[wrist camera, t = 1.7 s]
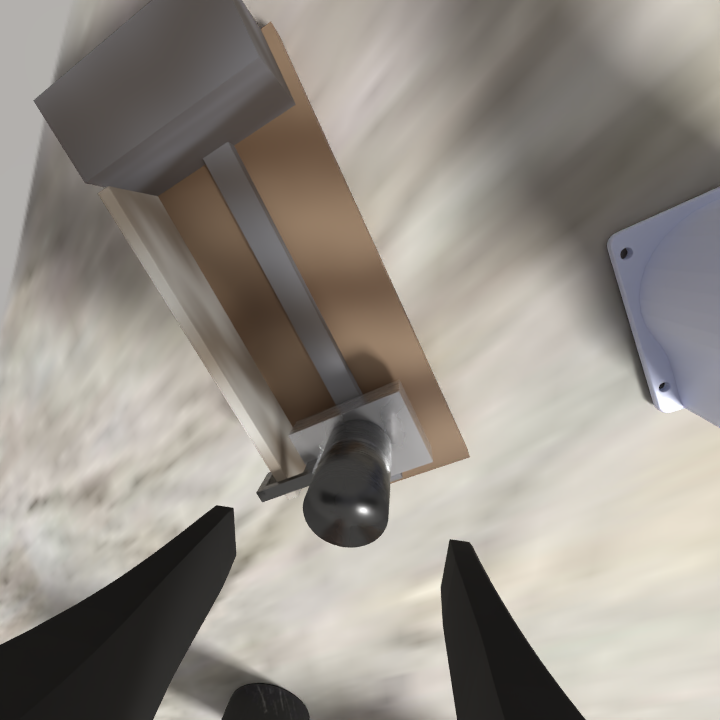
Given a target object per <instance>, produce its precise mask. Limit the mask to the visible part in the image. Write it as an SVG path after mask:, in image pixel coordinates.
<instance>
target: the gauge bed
mask: <svg viewBox="0 0 720 720" xmlns="http://www.w3.org/2000/svg"><path fill="white" fill-rule="evenodd" d="M34 102H35V104H36V105H37V107H38V109H39V110H40V112H41V113H42V115H43V117H44V118H45V120H46V121H47V123H48V125H49V126H50V128H51V129H52V131H53V133H54V134H55V136H56V137H57V139H58V141H59V142H60V144H61V145H62V147H63V149H64V150H65V152H66V153H67V155H68V157H69V158H70V160H71V161H72V163H73V164H74V166H75V168H76V169H77V171H78V172H79V174H80V176H81V177H82V179H83V180H84V182H85V183H87V184H92V185H97V186H102V187H106V188H105V189H103V190H102V191H101V192H99V193H98V195H99V196H100V198H101V200H102V201H103V203H104V204H105V206H106V208H107V209H108V211H109V213H110V214H111V216H112V217H113V219H114V221H115V222H116V224H117V225H118V227H119V229H120V230H121V232H122V233H123V235H124V237H125V238H126V240H127V241H128V243H129V245H130V246H131V248H132V249H133V251H134V253H135V254H136V256H137V257H138V259H139V261H140V262H141V264H142V266H143V267H144V269H145V270H146V272H147V274H148V275H149V277H150V278H151V280H152V282H153V283H154V285H155V286H156V288H157V290H158V291H159V293H160V294H161V296H162V298H163V299H164V301H165V302H166V304H167V306H168V307H169V309H170V311H171V312H172V314H173V315H174V317H175V319H176V320H177V322H178V323H179V325H180V327H181V328H182V330H183V331H184V333H185V335H186V336H187V338H188V339H189V341H190V343H191V344H192V346H193V347H194V349H195V351H196V352H197V354H198V356H199V357H200V359H201V360H202V362H203V364H204V365H205V367H206V368H207V370H208V372H209V373H210V375H211V376H212V378H213V380H214V381H215V383H216V384H217V386H218V388H219V389H220V391H221V392H222V394H223V396H224V397H225V399H226V400H227V402H228V404H229V405H230V407H231V409H232V410H233V412H234V413H235V415H236V417H237V418H238V420H239V421H240V423H241V425H242V426H243V428H244V429H245V431H246V433H247V434H248V436H249V437H250V439H251V441H252V442H253V444H254V445H255V447H256V449H257V450H258V452H259V454H260V455H261V457H262V458H263V460H264V462H265V463H266V465H267V466H268V468H269V470H270V471H271V473H272V474H273V476H274V478H275V479H276V481H277V482H279V481H281V480H284V479H287V478H290V477H292V476H295V475H298V474H301V473H303V471H304V469H305V467H306V465H305V463H304V462H303V460H302V458H301V456H300V455H299V453H298V451H297V450H296V448H295V446H294V445H293V443H292V441H291V440H290V438H289V436H288V435H289V433H290V432H291V430H292V429H293V427H294V425H295V424H296V422H297V421H299V420H302V419H304V418H306V417H309V416H311V415H314V414H316V413H319V412H321V411H324V410H326V409H329V408H331V407H333V406H336V405H338V404H341V403H343V402H346V401H348V400H351V399H353V398H355V397H358V396H360V395H363V394H365V393H368V392H370V391H373V390H375V389H378V388H380V387H382V386H385V385H387V384H390V383H392V382H395V381H397V380H400V382H401V384H402V386H403V388H404V390H405V392H406V395H407V397H408V399H409V401H410V403H411V405H412V407H413V409H414V411H415V413H416V415H417V417H418V419H419V421H420V424H421V426H422V428H423V430H424V432H425V434H426V436H427V438H428V440H429V442H430V444H431V449H432V457H433V462H432V463H429V464H426V465H423V466H420V467H417V468H414V469H411V470H408V471H405V472H402V473H399V474H396V475H393V476H391V481H390V484H391V483H394V482H397V481H400V480H403V479H406V478H409V477H412V476H415V475H418V474H421V473H424V472H427V471H430V470H433V469H436V468H439V467H442V466H445V465H448V464H451V463H454V462H457V461H460V460H463V459H466V458H469V457H470V456H469V453H468V450H467V447H466V445H465V442H464V440H463V438H462V436H461V434H460V431H459V429H458V427H457V425H456V423H455V420H454V418H453V416H452V414H451V412H450V409H449V407H448V405H447V403H446V401H445V398H444V396H443V394H442V392H441V390H440V387H439V385H438V383H437V381H436V379H435V377H434V374H433V372H432V370H431V368H430V366H429V363H428V361H427V359H426V357H425V355H424V352H423V350H422V348H421V346H420V344H419V341H418V339H417V337H416V335H415V333H414V330H413V328H412V326H411V324H410V322H409V319H408V317H407V315H406V313H405V311H404V308H403V306H402V304H401V302H400V300H399V297H398V295H397V293H396V291H395V289H394V286H393V284H392V282H391V280H390V278H389V275H388V273H387V271H386V269H385V267H384V265H383V262H382V260H381V258H380V256H379V254H378V251H377V249H376V247H375V245H374V243H373V240H372V238H371V236H370V234H369V232H368V229H367V227H366V225H365V223H364V221H363V218H362V216H361V214H360V212H359V210H358V207H357V205H356V203H355V201H354V199H353V196H352V194H351V192H350V190H349V188H348V185H347V183H346V181H345V179H344V177H343V174H342V172H341V170H340V168H339V166H338V164H337V161H336V159H335V157H334V155H333V153H332V150H331V148H330V146H329V144H328V142H327V139H326V137H325V135H324V133H323V131H322V128H321V126H320V124H319V122H318V120H317V117H316V115H315V113H314V111H313V109H312V106H311V104H310V102H309V100H308V98H307V95H306V93H305V91H304V89H303V87H302V84H301V82H300V80H299V78H298V76H297V73H296V71H295V69H294V67H293V65H292V62H291V60H290V58H289V56H288V54H287V52H286V49H285V47H284V45H283V43H282V41H281V38H280V36H279V34H278V33H277V31H276V29H275V28H274V26H273V24H272V23H271V22H270V23H268V24H267V25H266V26H264V27H263V28H262V29H260V27H259V26H258V24H257V23H256V21H255V19H254V18H253V16H252V15H251V13H250V12H249V10H248V9H247V7H246V6H245V4H244V3H243V1H242V0H152V1H150V2H149V3H148V4H147V5H146V6H144V7H143V8H142V9H141V10H140V11H139V12H137V13H136V14H135V15H134V16H133V17H131V18H130V19H129V20H128V21H127V22H126V23H124V24H123V25H122V26H121V27H120V28H118V29H117V30H116V31H115V32H114V33H113V34H111V35H110V36H109V37H108V38H107V39H105V40H104V41H103V42H102V43H101V44H100V45H98V46H97V47H96V48H95V49H94V50H93V51H91V52H90V53H89V54H88V55H87V56H85V57H84V58H83V59H82V60H81V61H80V62H78V63H77V64H76V65H75V66H74V67H72V68H71V69H70V70H69V71H68V72H67V73H65V74H64V75H63V76H62V77H61V78H59V79H58V80H57V81H56V82H55V83H54V84H52V85H51V86H50V87H49V88H48V89H46V90H45V91H44V92H43V93H42V94H41V95H39V96H38V97H37V98H36V99H35V100H34ZM301 489H302V488H301ZM301 489H299V490H296V491H293V492H290V493H287V494H285V495H286V497H287V498H288V500H289V499H292V498H295V497H298V496H299V493H300V491H301Z"/></svg>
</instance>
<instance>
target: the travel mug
mask: <svg viewBox="0 0 720 720" xmlns="http://www.w3.org/2000/svg"><path fill="white" fill-rule="evenodd" d="M222 720H309V713H308V711H307V709H306V707H305V705H304V704H303V703H302V702H301V701H300V700H299V699H298V698H297V697H296V696H294V695H293V694H291V693H290V692H288V691H286V690H284V689H282V688H279V687H276V686H273V685H268V684H249V685H245V686H243V687H241V688H239V689H237V690H236V691H235V692H234V694H233V695H232V697H231V699H230V701H229V703H228V706H227V708H226V710H225V713H224V715H223V717H222Z"/></svg>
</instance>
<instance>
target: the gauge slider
mask: <svg viewBox="0 0 720 720" xmlns="http://www.w3.org/2000/svg"><path fill="white" fill-rule="evenodd" d="M288 436H289V438H290V440H291V441H292V443H293V445H294V446H295V448H296V450H297V451H298V453H299V455H300V456H301V458H302V460H303V462H304V463H305V465H306V467H305V469H304V471H303V473H301V474H298V475H295V476H292V477H290V478H287V479H284V480H281V481H279V482H277V481H276V479H275V478H274V476H273V474H272V473H271V472H269V473H268V474H267V476H266V477H265V479H264V481H263V482H262V484H261V486H260V487H259V489H258V491H257V492H256V493H257V495H258V496H259V498H260V499H261V501H262V502H265V501H267V500H270V499H273V498H276V497H279V496H282V495H284V494H287V493H290V492H293V491H296V490H299V489H301V488H304V487H307V486H309V488H308V491H307V493H306V496H305V499H304V502H303V513H304V517H305V520H306V522H307V524H308V526H309V527H310V528H311V530H312V531H313V532H314V533H315V534H316V535H317V536H319V537H320V538H321V539H323V540H325V541H326V542H329V543H331V544H334V545H337V546H341V547H360V546H364V545H367V544H370V543H371V542H373V541H375V540H376V539H378V538H379V537H380V536H381V535H382V533H383V532H384V530H385V529H386V526H387V523H388V514H389V498H390V481H391V476H393V475H396V474H399V473H402V472H405V471H408V470H411V469H414V468H417V467H420V466H423V465H426V464H429V463H432V462H433V457H432V449H431V444H430V442H429V440H428V438H427V436H426V434H425V432H424V430H423V428H422V426H421V424H420V421H419V419H418V417H417V415H416V413H415V411H414V409H413V407H412V405H411V403H410V401H409V399H408V397H407V395H406V392H405V390H404V388H403V386H402V384H401V382H400V380H397V381H395V382H392V383H390V384H387V385H385V386H382V387H380V388H378V389H375V390H373V391H370V392H368V393H365V394H363V395H360V396H358V397H355V398H353V399H351V400H348V401H346V402H343V403H341V404H338V405H336V406H333V407H331V408H329V409H326V410H324V411H321V412H319V413H316V414H314V415H311V416H309V417H306V418H304V419H302V420H299V421H297V422H296V424H295V425H294V427H293V429H292V430H291V432H290V433H289V435H288Z"/></svg>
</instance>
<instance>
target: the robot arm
mask: <svg viewBox="0 0 720 720" xmlns="http://www.w3.org/2000/svg"><path fill="white" fill-rule="evenodd" d="M624 248H626V249H627V250H628V254H627V256H626V257H625V258H624V259H622V258H621V257H620V253H621V251H622V250H623V249H624ZM607 249H608V252H609V256H610V259H611V262H612V266H613V269H614V272H615V276H616V279H617V283H618V286H619V289H620V293H621V296H622V299H623V303H624V306H625V309H626V313H627V316H628V320H629V323H630V326H631V330H632V333H633V336H634V340H635V343H636V346H637V350H638V353H639V357H640V360H641V363H642V367H643V370H644V373H645V377H646V380H647V383H648V387H649V390H650V394H651V397H652V400H653V404H654V406H655V408H657V409H658V410H660V411H662V412H664V413H670V412H674V411H677V410H680V409H683V408H686V409H688V410H689V411H691V412H693V413H695V414H696V415H698V416H700V417H701V418H703V419H705V420H707V421H708V422H710V423H712V424H714V425H715V426H717V427H719V428H720V186H719V187H717V188H715V189H713V190H710V191H708V192H706V193H704V194H702V195H699V196H697V197H695V198H693V199H690V200H688V201H686V202H684V203H681V204H679V205H677V206H675V207H672V208H670V209H668V210H666V211H663V212H661V213H659V214H657V215H654V216H652V217H650V218H648V219H645V220H643V221H641V222H639V223H636V224H634V225H632V226H630V227H627V228H625V229H623V230H621V231H618V232H616V233H615V234H613V235H612V236H611V237H610V238H609V240H608V242H607ZM663 382H665V385H664V387H663V388H661V389H659V386H660V384H662V383H663ZM235 557H236V542H235V525H234V508H231V507H224V506H217V505H216V506H215V507H214V508H212V509H211V510H210V511H208V512H207V513H206V514H204V515H203V516H202V517H201V518H199V519H198V520H197V521H196V522H194V523H193V524H192V525H190V526H189V527H188V528H187V529H185V530H184V531H183V532H182V533H180V534H179V535H178V536H176V537H175V538H174V539H172V540H171V541H170V542H168V543H167V544H166V545H164V546H163V547H162V548H160V549H159V550H158V551H157V552H155V553H154V554H152V555H151V556H150V557H148V558H147V559H145V560H144V561H143V562H141V563H140V564H138V565H137V566H136V567H134V568H133V569H131V570H130V571H128V572H127V573H126V574H124V575H123V576H121V577H120V578H118V579H117V580H115V581H114V582H112V583H110V584H109V585H107V586H106V587H104V588H103V589H101V590H99V591H98V592H96V593H94V594H93V595H91V596H90V597H88V598H86V599H85V600H83V601H81V602H80V603H78V604H76V605H74V606H73V607H71V608H69V609H67V610H65V611H64V612H62V613H60V614H58V615H56V616H54V617H53V618H51V619H49V620H47V621H45V622H44V623H42V624H40V625H38V626H36V627H35V628H33V629H31V630H29V631H27V632H25V633H23V634H21V635H19V636H17V637H15V638H13V639H11V640H9V641H7V642H5V643H3V644H1V645H0V720H153V718H154V716H155V714H156V712H157V710H158V708H159V706H160V703H161V701H162V699H163V697H164V695H165V693H166V690H167V688H168V686H169V684H170V682H171V680H172V678H173V676H174V674H175V672H176V670H177V668H178V667H179V665H180V663H181V661H182V659H183V657H184V656H185V654H186V652H187V650H188V648H189V647H190V645H191V643H192V641H193V640H194V638H195V636H196V634H197V632H198V631H199V629H200V627H201V625H202V624H203V622H204V620H205V618H206V616H207V615H208V613H209V611H210V609H211V607H212V606H213V604H214V602H215V600H216V598H217V597H218V595H219V593H220V591H221V589H222V587H223V585H224V583H225V581H226V578H227V576H228V574H229V571H230V569H231V566H232V564H233V562H234V559H235ZM441 601H442V619H443V629H444V636H445V643H446V649H447V656H448V663H449V669H450V676H451V682H452V689H453V695H454V702H455V708H456V715H457V720H586V719H585V718H584V717H583V716H582V715H581V713H580V712H579V711H578V710H577V708H576V707H575V706H574V704H573V703H572V702H571V701H570V699H569V698H568V697H567V695H566V694H565V693H564V692H563V690H562V689H561V688H560V686H559V685H558V684H557V682H556V681H555V680H554V678H553V677H552V675H551V674H550V673H549V671H548V670H547V669H546V667H545V666H544V664H543V663H542V662H541V660H540V659H539V657H538V656H537V655H536V653H535V652H534V650H533V649H532V647H531V646H530V644H529V643H528V641H527V640H526V638H525V637H524V635H523V634H522V632H521V631H520V629H519V628H518V626H517V624H516V623H515V621H514V620H513V618H512V616H511V615H510V613H509V612H508V610H507V608H506V607H505V605H504V603H503V602H502V600H501V598H500V597H499V595H498V593H497V591H496V590H495V588H494V586H493V584H492V583H491V581H490V579H489V577H488V575H487V574H486V572H485V570H484V568H483V566H482V564H481V562H480V560H479V558H478V556H477V554H476V552H475V550H474V548H473V546H472V545H471V544H470V542H465V541H458V540H451V539H450V541H449V546H448V551H447V557H446V562H445V567H444V573H443V578H442V584H441Z"/></svg>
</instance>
